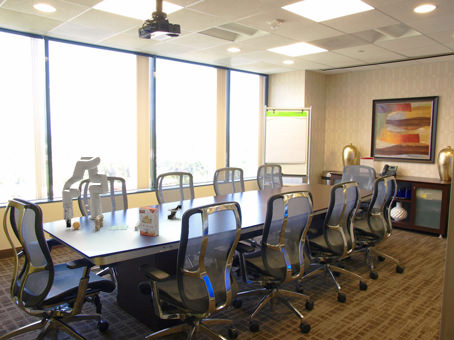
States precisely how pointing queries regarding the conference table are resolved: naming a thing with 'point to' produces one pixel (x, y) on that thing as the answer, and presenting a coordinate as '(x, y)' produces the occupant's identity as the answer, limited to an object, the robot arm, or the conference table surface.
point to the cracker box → (149, 221)
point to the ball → (76, 225)
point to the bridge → (98, 222)
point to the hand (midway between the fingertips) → (68, 227)
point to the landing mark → (119, 227)
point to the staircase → (174, 211)
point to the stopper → (137, 225)
